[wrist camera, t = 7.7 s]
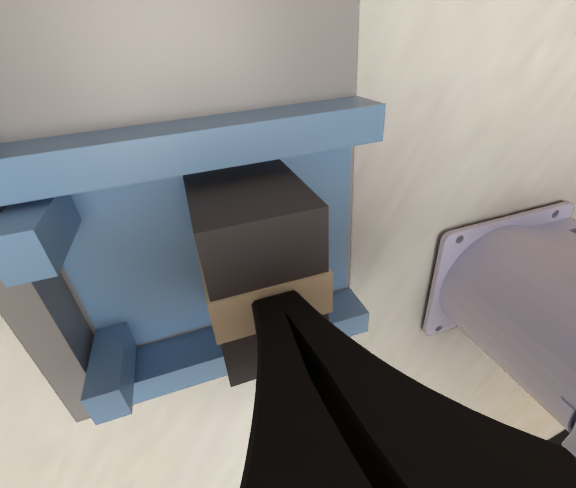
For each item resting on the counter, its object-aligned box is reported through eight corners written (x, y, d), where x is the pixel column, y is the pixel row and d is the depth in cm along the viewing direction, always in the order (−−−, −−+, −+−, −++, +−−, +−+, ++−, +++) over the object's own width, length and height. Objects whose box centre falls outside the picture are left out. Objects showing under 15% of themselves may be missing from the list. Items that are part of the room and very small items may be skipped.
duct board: (351, -301, 9) (495, -554, 5) (340, 293, 19) (384, 353, 15) (-362, -418, 6) (-1348, -1292, 2) (88, 364, 16) (68, 460, 12)
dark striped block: (282, 158, 13) (333, 207, 9) (291, 283, 16) (332, 357, 12) (179, 175, 12) (189, 236, 8) (211, 303, 15) (228, 390, 11)
